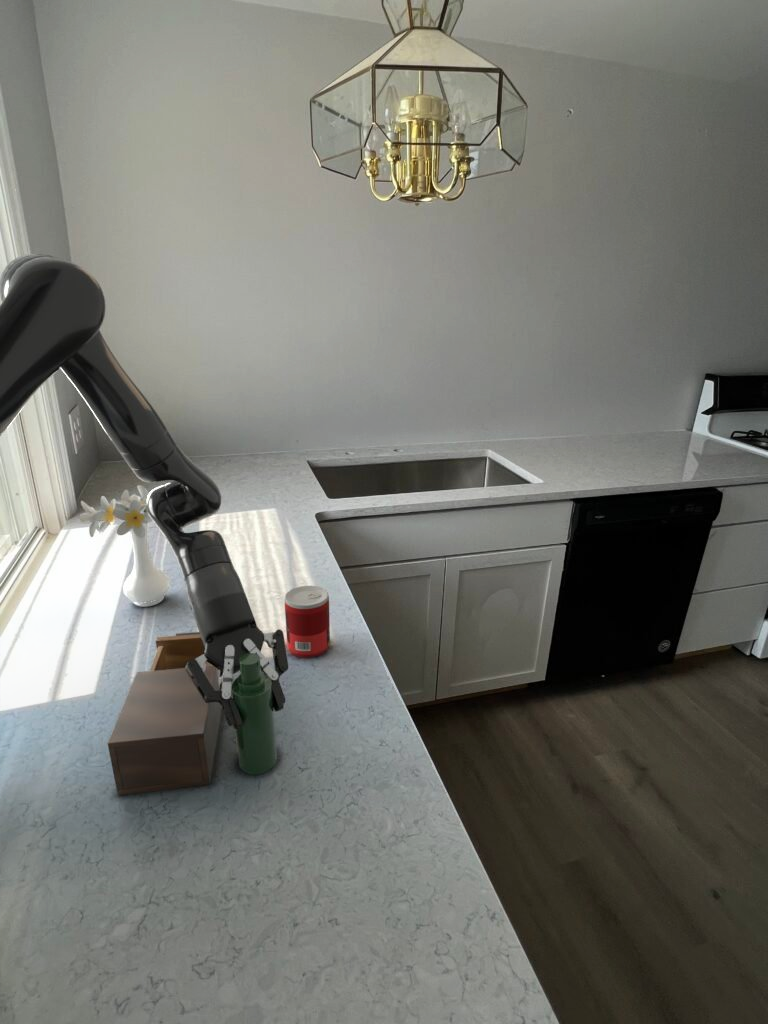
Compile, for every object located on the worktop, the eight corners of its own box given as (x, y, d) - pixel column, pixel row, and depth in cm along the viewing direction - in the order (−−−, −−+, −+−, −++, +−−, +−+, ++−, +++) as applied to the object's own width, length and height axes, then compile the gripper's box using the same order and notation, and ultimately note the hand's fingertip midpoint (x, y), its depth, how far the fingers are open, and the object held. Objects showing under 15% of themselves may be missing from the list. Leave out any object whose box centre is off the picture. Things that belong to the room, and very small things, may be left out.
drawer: (166, 656, 99) (161, 624, 97) (226, 652, 101) (223, 619, 99) (143, 726, 83) (136, 688, 81) (215, 719, 85) (210, 682, 82)
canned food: (337, 649, 104) (336, 597, 100) (298, 664, 99) (296, 610, 95) (318, 631, 110) (316, 581, 106) (280, 643, 105) (277, 592, 101)
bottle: (237, 777, 76) (227, 672, 70) (240, 748, 80) (230, 648, 74) (276, 772, 76) (269, 669, 70) (277, 744, 81) (270, 645, 75)
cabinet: (144, 718, 86) (136, 671, 83) (221, 710, 88) (216, 665, 85) (117, 795, 72) (107, 743, 69) (209, 784, 74) (203, 733, 71)
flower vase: (101, 594, 122) (80, 485, 113) (189, 581, 128) (176, 477, 119) (94, 624, 111) (71, 506, 102) (192, 608, 117) (178, 496, 108)
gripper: (170, 608, 72) (212, 737, 67) (272, 579, 80) (316, 692, 75) (164, 625, 78) (201, 745, 73) (259, 596, 86) (299, 703, 81)
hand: (259, 717), depth 74 cm, fingers closed on bottle, 5 cm apart
